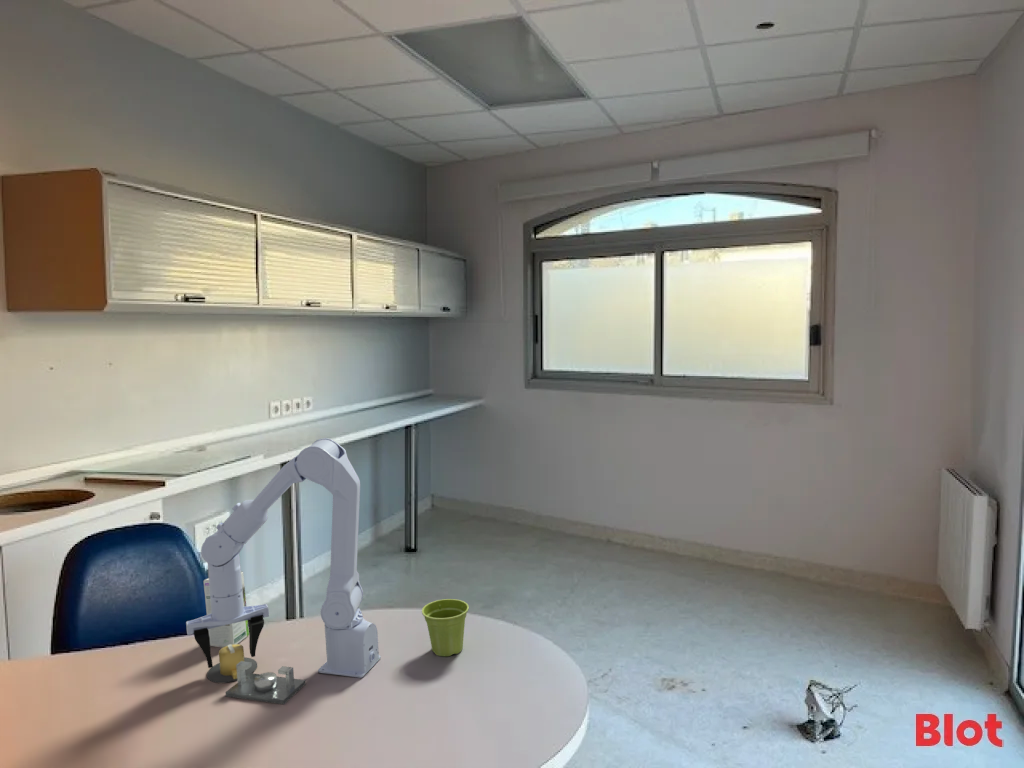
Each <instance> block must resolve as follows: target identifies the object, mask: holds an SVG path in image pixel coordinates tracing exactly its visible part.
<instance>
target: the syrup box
mask: <svg viewBox="0 0 1024 768" xmlns="http://www.w3.org/2000/svg"><path fill="white" fill-rule="evenodd" d="M241 579H242V592H243V605H244V607H246V606H247V599H246V598H247V597H246V588H245V587H246V586H245V576H244V571H242V570H241ZM203 590H204V600H205V601H204V602H205V609H206V610H205V611H206V615H209V614H212V612H211V600H210V588H209V577H208V578H205V579H204V580H203ZM208 631H209V637H210V647H215V648H217V647H218V648H224V647H226V646H228V645H230V644H231V645H234V644H239V643H241V642H242V641H243V640H244V639H246V638H247V637H249V627H248V620H246V621H241V622H237V623H232V624H228V625H224V626H219V627H215V628H211V629H208Z"/></svg>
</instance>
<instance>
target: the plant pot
mask: <svg viewBox="0 0 1024 768" xmlns="http://www.w3.org/2000/svg"><path fill="white" fill-rule="evenodd" d="M469 607H470V605H469V604H468V603H467V602H466V601H464V600H461V599H457V598H456V599H453V598H446V599H437V600H433V601H432V602H428V603H426V604H425V605H424V606H423V607H422V608H421V614H422V616H423V618H424V619H425V620H424V621H425V622H426V626H427V631H428V635H429V641H430V645H431V650H432V651H431V652H433V653H434V654H435V655H436V656H437V657H438V656H439V657H450V656H453V655H455V654H459V653H461V652H462V650H463V648H464V647H463V646H464V637H465V635H464V633H465V625H466V624H465V623H466V618H467V614H468V611H469Z"/></svg>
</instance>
